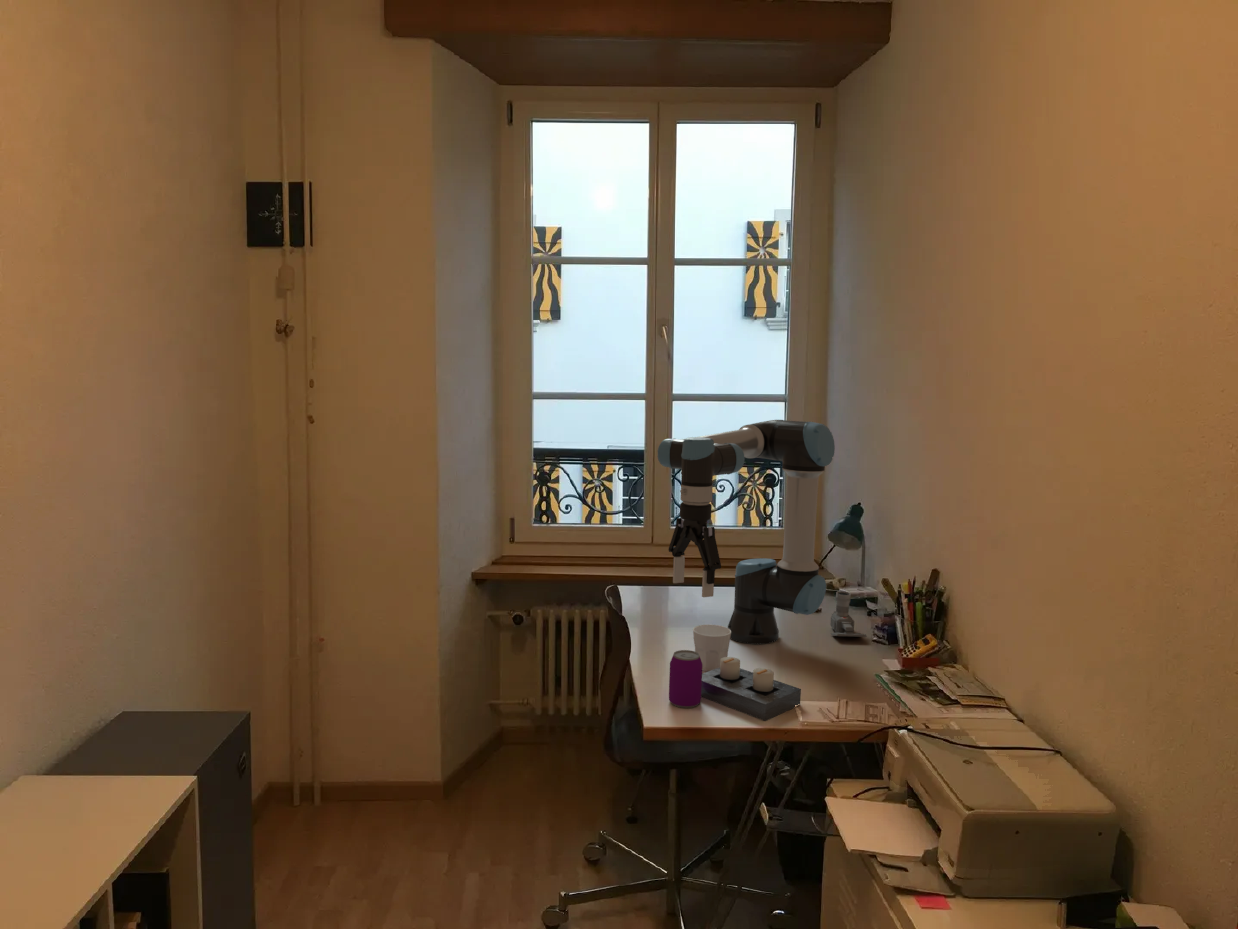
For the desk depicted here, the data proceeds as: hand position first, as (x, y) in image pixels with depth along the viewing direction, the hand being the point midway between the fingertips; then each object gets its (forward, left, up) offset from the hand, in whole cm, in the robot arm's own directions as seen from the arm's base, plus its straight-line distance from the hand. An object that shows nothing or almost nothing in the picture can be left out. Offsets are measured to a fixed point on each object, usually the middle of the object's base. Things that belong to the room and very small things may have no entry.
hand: (692, 589), depth 210 cm
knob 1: (-8, +6, -22) cm, 24 cm away
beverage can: (+5, +3, -26) cm, 27 cm away
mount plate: (-8, +11, -26) cm, 30 cm away
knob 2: (-8, +16, -22) cm, 29 cm away
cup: (-19, -9, -26) cm, 34 cm away
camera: (-71, 0, -26) cm, 76 cm away
